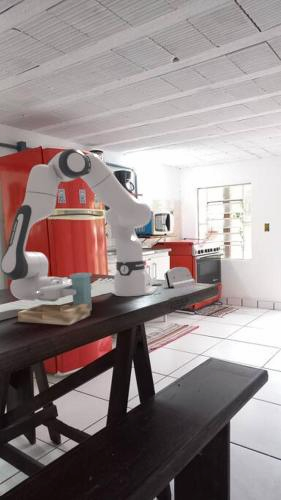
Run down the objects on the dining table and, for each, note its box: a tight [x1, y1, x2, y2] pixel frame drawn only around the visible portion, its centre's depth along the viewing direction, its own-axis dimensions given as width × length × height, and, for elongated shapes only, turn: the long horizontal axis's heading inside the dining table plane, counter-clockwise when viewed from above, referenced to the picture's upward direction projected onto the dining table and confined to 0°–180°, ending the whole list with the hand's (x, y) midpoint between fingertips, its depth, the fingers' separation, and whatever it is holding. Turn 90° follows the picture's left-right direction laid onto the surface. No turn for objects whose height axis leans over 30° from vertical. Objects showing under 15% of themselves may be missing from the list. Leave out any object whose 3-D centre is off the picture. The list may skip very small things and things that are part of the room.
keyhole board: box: [17, 303, 91, 326], centre depth 111 cm, size 12×19×4 cm, turn 67°
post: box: [69, 272, 93, 312], centre depth 119 cm, size 6×6×13 cm
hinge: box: [163, 266, 197, 289], centre depth 167 cm, size 17×5×10 cm, turn 134°
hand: (83, 289), depth 119 cm, fingers open, 8 cm apart
